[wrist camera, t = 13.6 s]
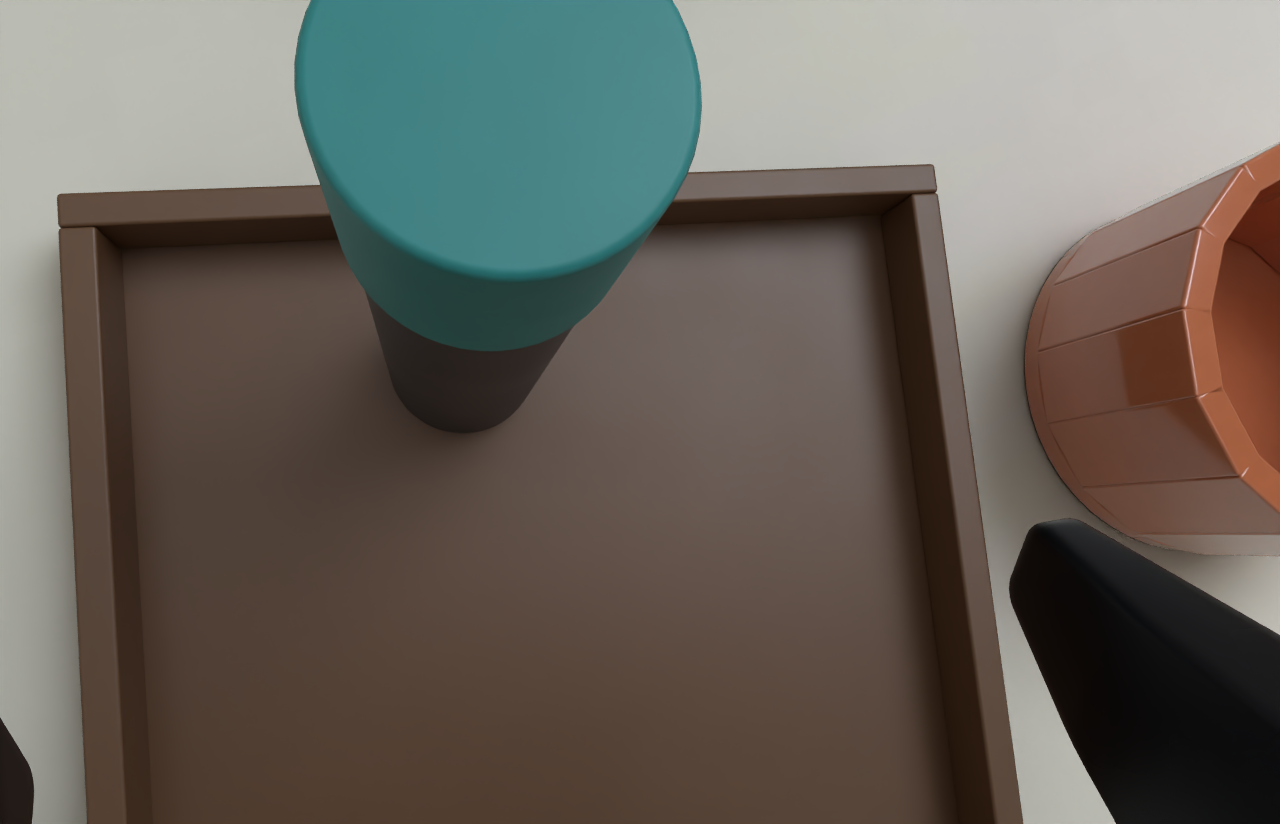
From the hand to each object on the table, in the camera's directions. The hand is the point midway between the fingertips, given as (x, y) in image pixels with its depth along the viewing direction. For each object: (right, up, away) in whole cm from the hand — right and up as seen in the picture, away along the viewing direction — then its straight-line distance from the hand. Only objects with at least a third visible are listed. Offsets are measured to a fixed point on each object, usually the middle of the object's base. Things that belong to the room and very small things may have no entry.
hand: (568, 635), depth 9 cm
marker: (-3, +3, +11) cm, 12 cm away
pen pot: (+13, +3, +14) cm, 19 cm away
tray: (-1, -1, +11) cm, 11 cm away
